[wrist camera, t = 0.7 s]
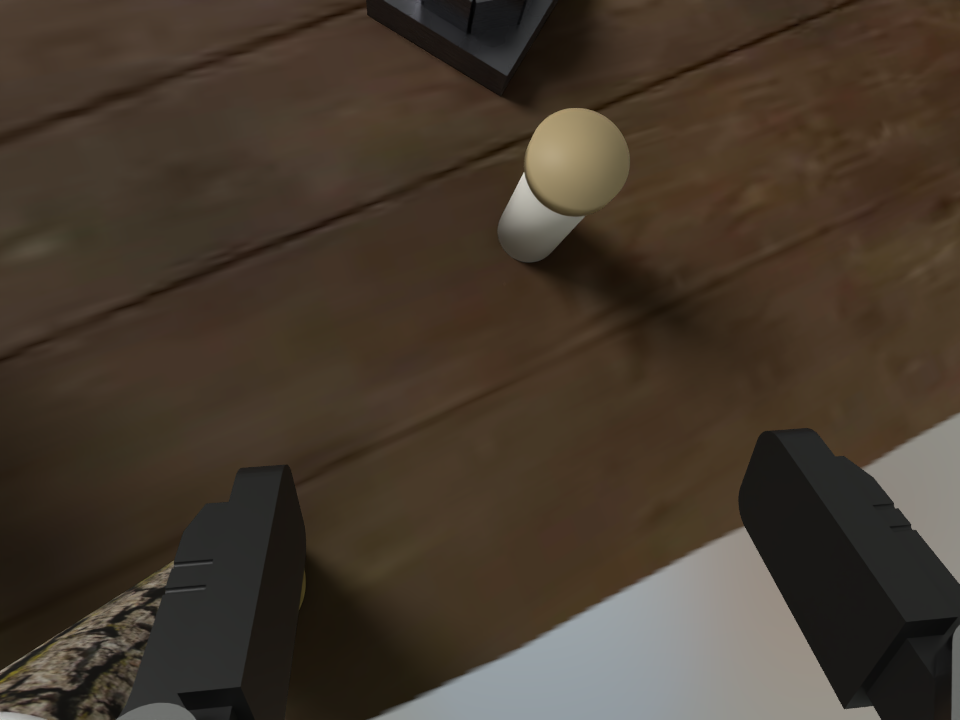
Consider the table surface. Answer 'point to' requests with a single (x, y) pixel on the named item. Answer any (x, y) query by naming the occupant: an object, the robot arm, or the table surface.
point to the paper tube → (87, 660)
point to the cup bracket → (469, 32)
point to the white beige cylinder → (563, 181)
